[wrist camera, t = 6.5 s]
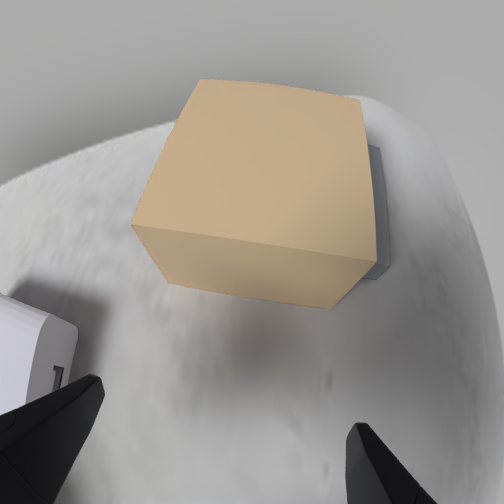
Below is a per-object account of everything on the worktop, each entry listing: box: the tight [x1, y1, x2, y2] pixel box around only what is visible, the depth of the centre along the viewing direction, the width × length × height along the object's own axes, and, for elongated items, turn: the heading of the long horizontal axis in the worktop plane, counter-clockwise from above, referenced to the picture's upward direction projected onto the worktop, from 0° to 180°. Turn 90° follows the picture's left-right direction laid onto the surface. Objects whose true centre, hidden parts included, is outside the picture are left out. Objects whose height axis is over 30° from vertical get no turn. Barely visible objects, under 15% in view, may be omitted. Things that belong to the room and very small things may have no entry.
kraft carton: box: [130, 79, 377, 310], centre depth 19 cm, size 12×11×8 cm
